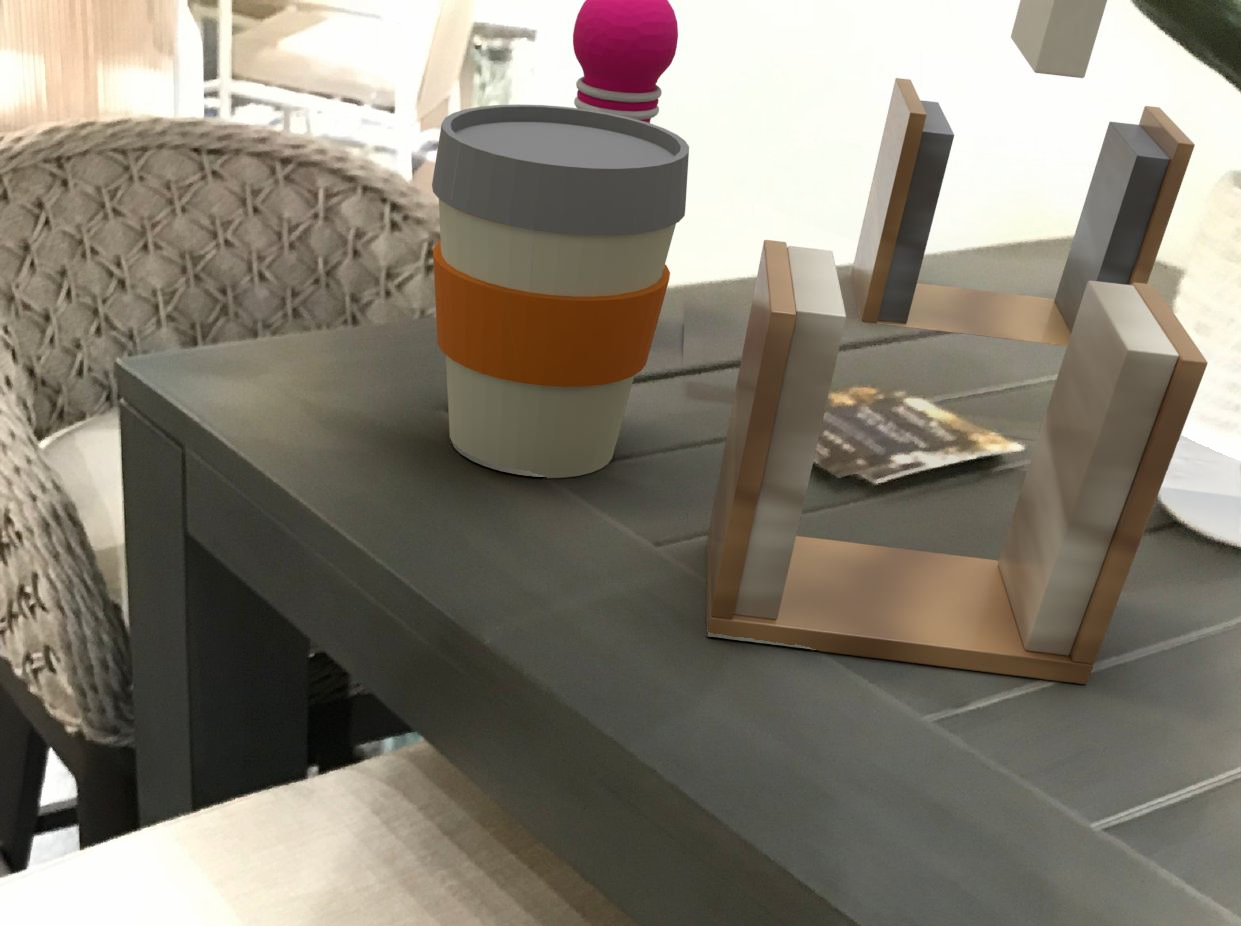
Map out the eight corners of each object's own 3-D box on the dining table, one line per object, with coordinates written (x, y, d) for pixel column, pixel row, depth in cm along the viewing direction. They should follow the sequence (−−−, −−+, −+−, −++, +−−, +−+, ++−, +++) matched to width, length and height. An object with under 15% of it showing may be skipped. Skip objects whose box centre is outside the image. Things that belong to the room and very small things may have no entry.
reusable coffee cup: (677, 434, 91) (728, 134, 81) (597, 512, 82) (644, 186, 72) (473, 385, 94) (498, 90, 84) (376, 455, 85) (390, 135, 75)
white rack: (1050, 586, 79) (1155, 284, 70) (1086, 685, 72) (1208, 362, 63) (706, 543, 80) (764, 238, 71) (706, 637, 73) (771, 310, 63)
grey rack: (1091, 318, 113) (1160, 107, 104) (1119, 367, 105) (1195, 144, 96) (847, 290, 113) (895, 77, 105) (857, 336, 106) (910, 112, 97)
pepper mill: (664, 325, 104) (722, -45, 91) (611, 353, 100) (665, -33, 86) (567, 298, 107) (610, -66, 94) (511, 324, 102) (548, -55, 89)
